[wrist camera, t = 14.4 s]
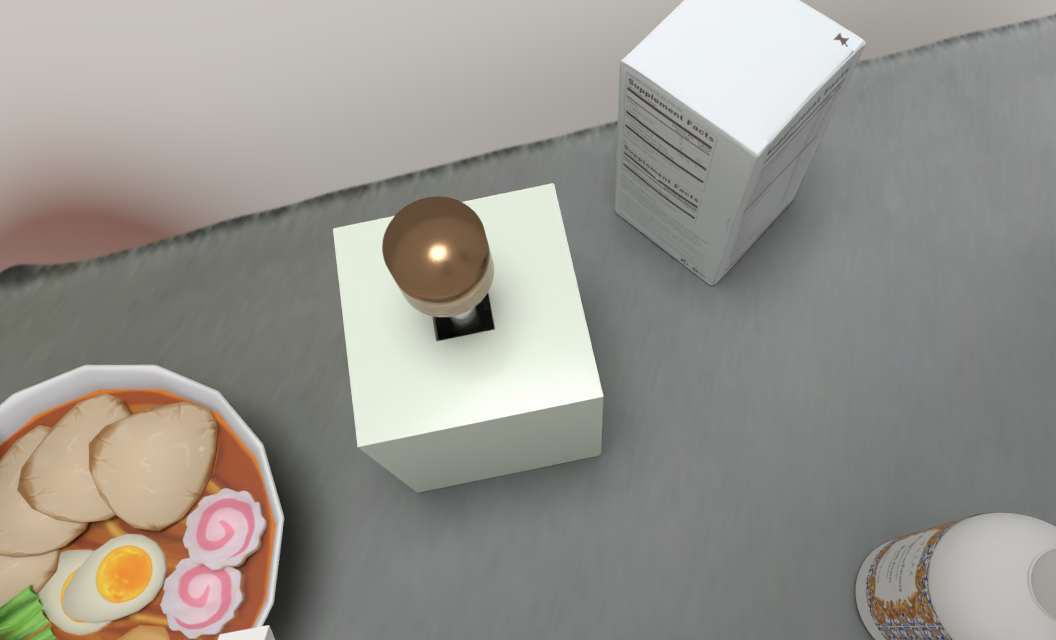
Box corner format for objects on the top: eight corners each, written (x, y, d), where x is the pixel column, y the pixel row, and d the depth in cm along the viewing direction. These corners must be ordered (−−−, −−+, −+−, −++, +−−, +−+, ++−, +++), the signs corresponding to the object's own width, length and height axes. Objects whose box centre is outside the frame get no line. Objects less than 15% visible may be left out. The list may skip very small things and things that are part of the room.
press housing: (563, 287, 56) (553, 183, 43) (600, 455, 52) (603, 396, 38) (393, 321, 56) (333, 228, 43) (417, 492, 52) (357, 447, 39)
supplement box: (694, 126, 60) (730, -52, 44) (797, 198, 57) (874, 34, 41) (609, 213, 58) (615, 58, 42) (711, 291, 55) (758, 157, 39)
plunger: (544, 294, 53) (520, 129, 35) (574, 428, 50) (563, 320, 32) (407, 322, 53) (316, 172, 36) (427, 458, 50) (337, 367, 32)
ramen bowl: (345, 750, 47) (296, 774, 39) (-42, 827, 47) (-165, 866, 39) (308, 350, 56) (263, 306, 48) (-15, 415, 56) (-111, 381, 48)
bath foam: (878, 517, 49) (1053, 449, 30) (993, 576, 47) (1252, 542, 29) (833, 623, 47) (991, 620, 28) (951, 688, 45) (1201, 730, 27)
